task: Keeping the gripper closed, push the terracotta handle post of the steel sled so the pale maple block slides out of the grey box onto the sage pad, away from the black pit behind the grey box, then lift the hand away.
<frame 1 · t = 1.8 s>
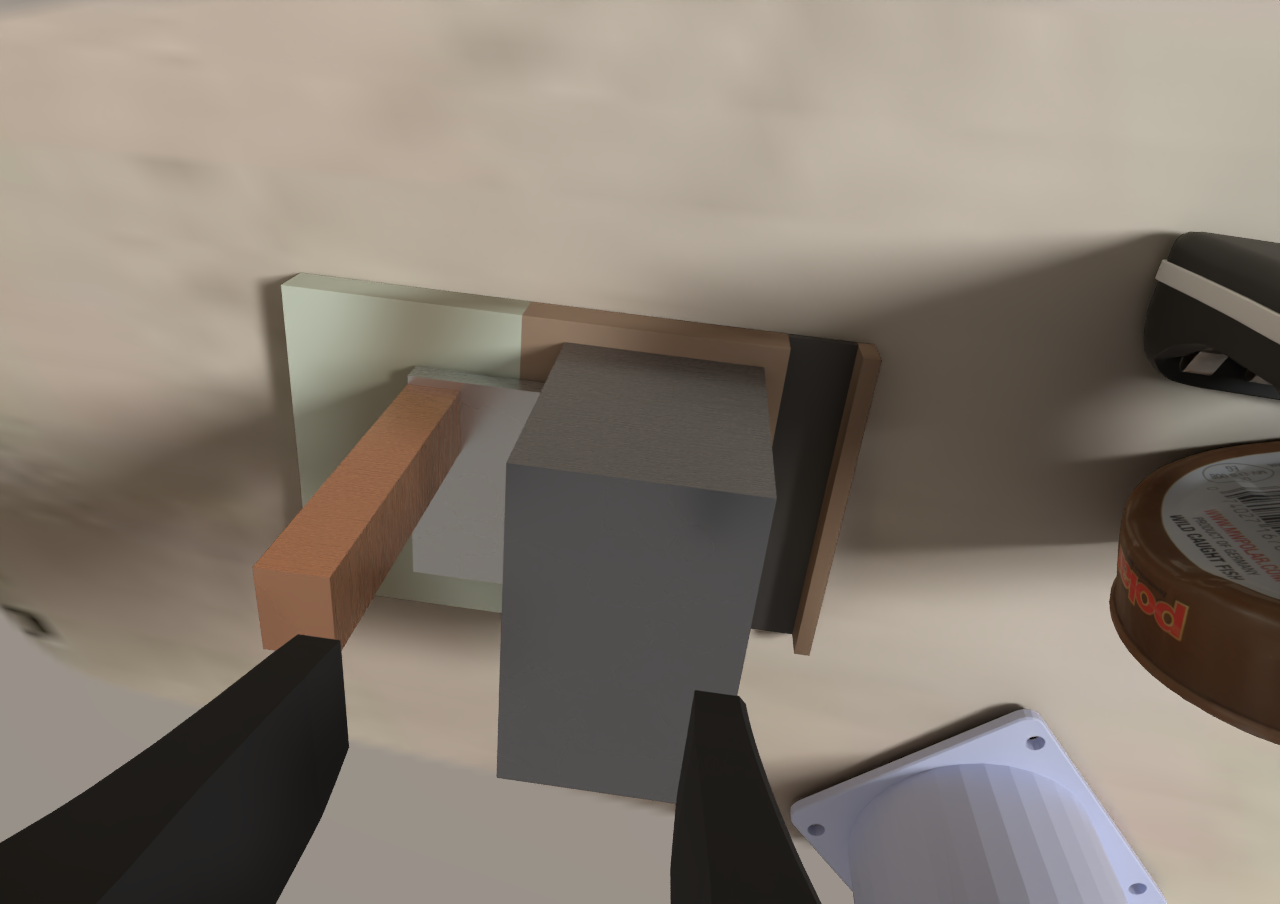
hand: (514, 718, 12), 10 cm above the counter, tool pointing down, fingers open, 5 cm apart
grey box: (635, 564, 19), on the track board, point 4 cm above the counter
track board: (640, 474, 22), on the counter
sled: (543, 583, 18), point 5 cm above the counter, slide at 0.0 cm
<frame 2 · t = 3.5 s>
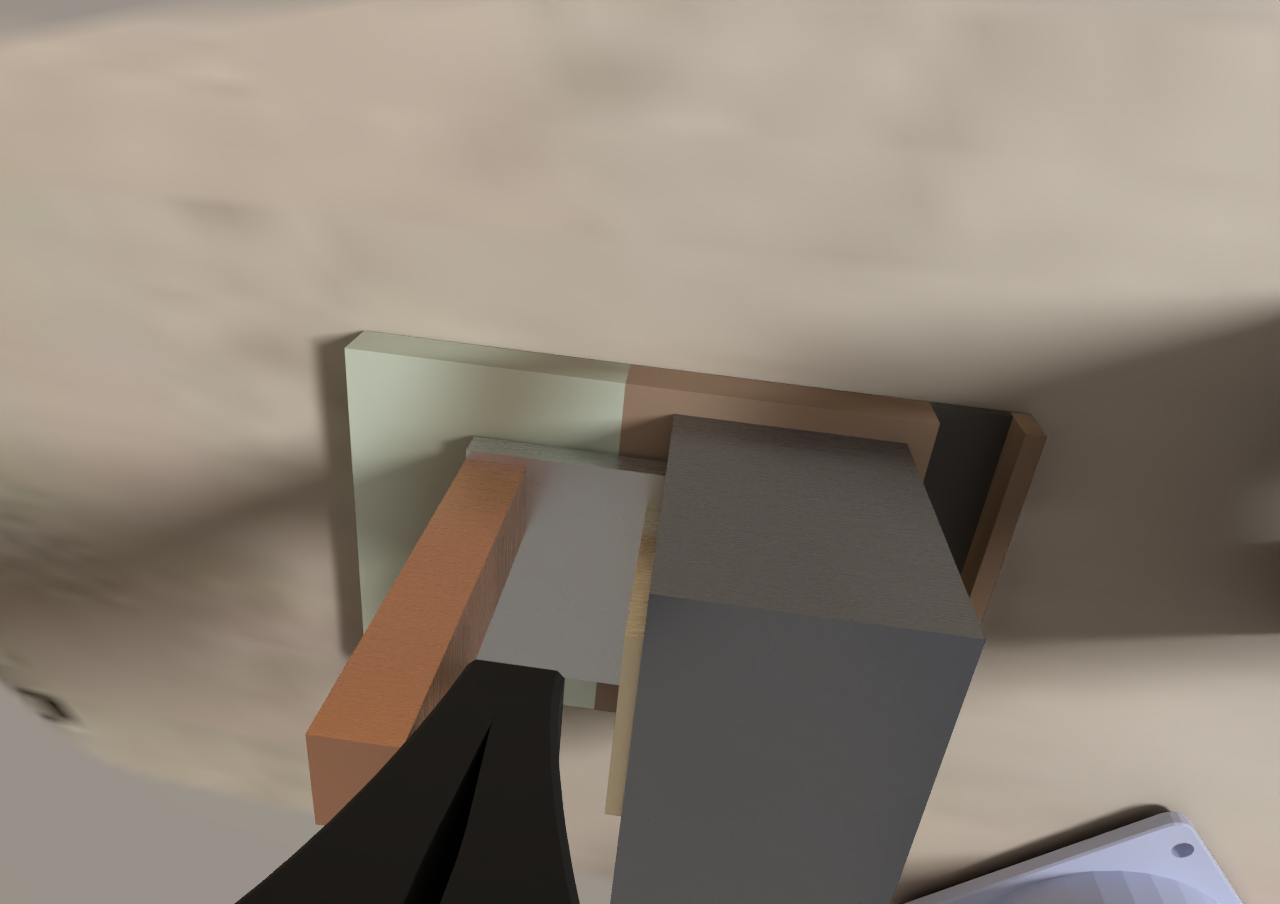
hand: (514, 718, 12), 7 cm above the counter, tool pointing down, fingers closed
grey box: (763, 677, 16), on the track board, point 4 cm above the counter
track board: (746, 555, 19), on the counter
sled: (633, 702, 15), point 5 cm above the counter, slide at 0.5 cm, touching gripper
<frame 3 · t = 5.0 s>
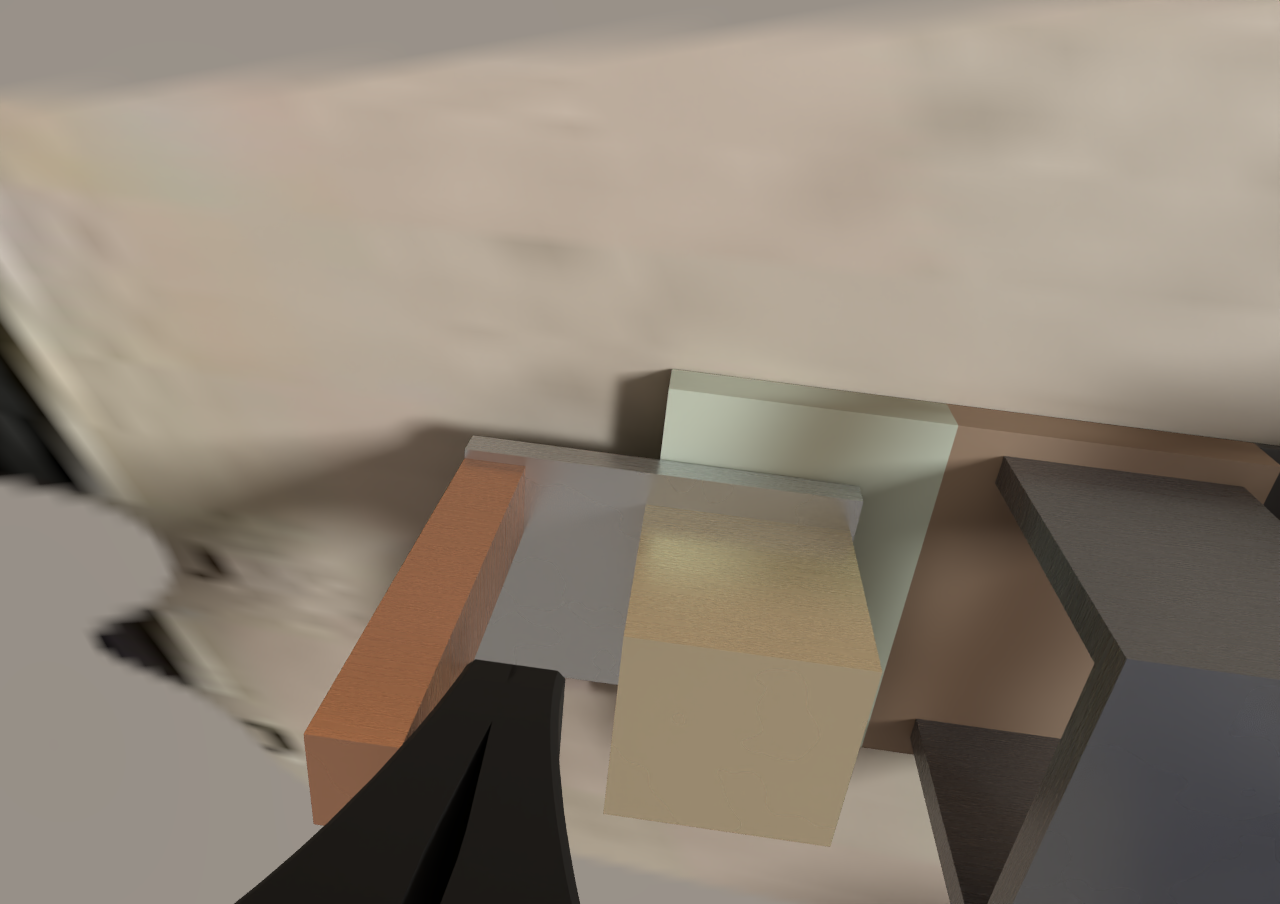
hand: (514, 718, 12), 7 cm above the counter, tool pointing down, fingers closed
grey box: (1114, 726, 16), on the track board, point 4 cm above the counter
track board: (1033, 594, 19), on the counter
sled: (631, 702, 15), point 5 cm above the counter, slide at 6.9 cm, touching gripper
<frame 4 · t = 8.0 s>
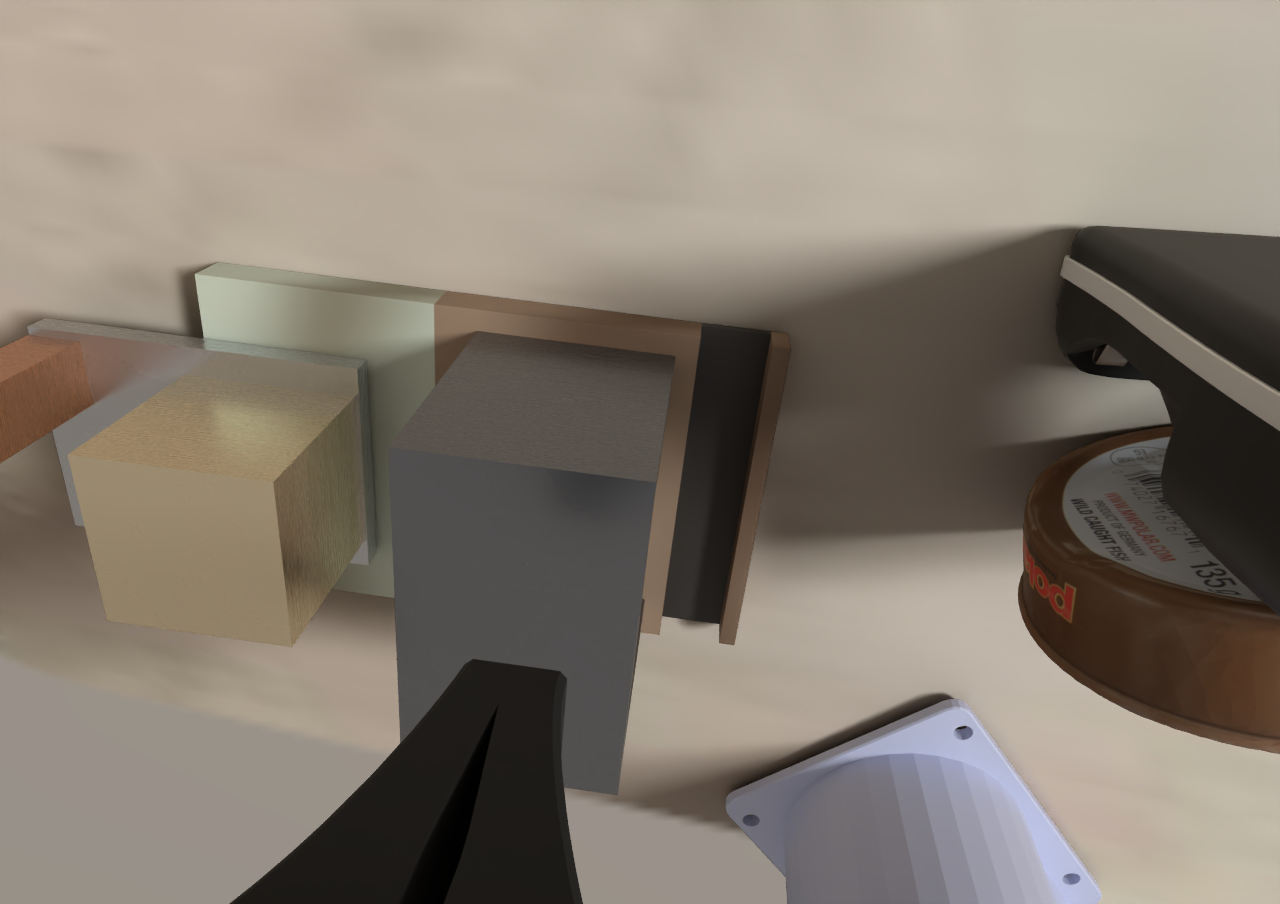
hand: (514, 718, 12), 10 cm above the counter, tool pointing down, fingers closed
grey box: (544, 551, 19), on the track board, point 4 cm above the counter
track board: (563, 464, 22), on the counter
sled: (122, 525, 18), point 5 cm above the counter, slide at 6.9 cm
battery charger: (1196, 316, 19), on the counter, touching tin
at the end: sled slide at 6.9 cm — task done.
